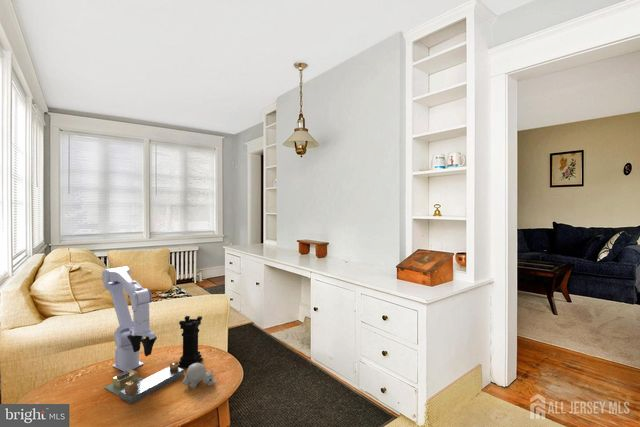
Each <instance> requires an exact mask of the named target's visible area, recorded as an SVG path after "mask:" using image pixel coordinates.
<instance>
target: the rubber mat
mask: <svg viewBox="0 0 640 427" xmlns="http://www.w3.org/2000/svg"><path fill="white" fill-rule="evenodd" d="M144 379H145V378H142V377H140V376H138V381H137V383H138V382H140V381H142V380H144ZM103 387H104V389H105V390H106V391H108V392H110V393H113V394H114V395H117V396H119V397H120V391H122V390H124V389H125V388H123V389H121V390H119V389H117V388H115V387H113V382H112V383H110V384H108V385H106V386H103Z"/></svg>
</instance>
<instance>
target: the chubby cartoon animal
mask: <svg viewBox="0 0 640 427" xmlns="http://www.w3.org/2000/svg"><path fill="white" fill-rule="evenodd" d="M213 372H214V370H211V371H207V370H206V367H205V365H204V364H203V363H202V362H200V363H194V364H192V365H190V366H189V368H186V374H185V377H184V378H183V380H182V385H183V386H188V385H189V388H191V389H193V390H194V389H196V388H197V386H198V384H199V383H200V382H203V383H204V384H205V385H207V386H209V387H212V386H213V385H214V384H215V383H216V381H217V378H215V379H214V375H213Z"/></svg>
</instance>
